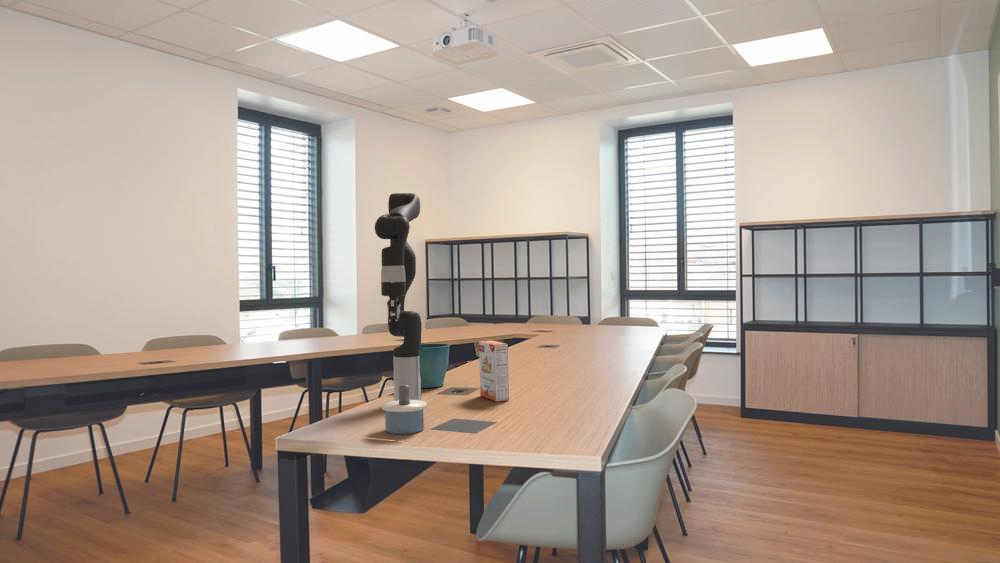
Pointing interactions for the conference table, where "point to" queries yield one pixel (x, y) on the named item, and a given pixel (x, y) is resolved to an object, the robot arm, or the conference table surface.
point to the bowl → (404, 422)
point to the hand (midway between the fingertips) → (394, 332)
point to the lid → (404, 402)
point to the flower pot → (433, 364)
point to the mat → (464, 425)
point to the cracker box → (494, 370)
